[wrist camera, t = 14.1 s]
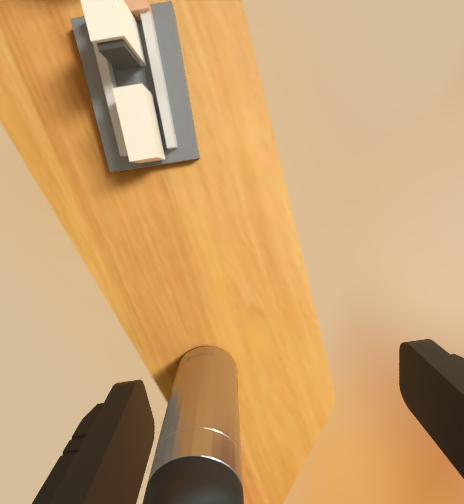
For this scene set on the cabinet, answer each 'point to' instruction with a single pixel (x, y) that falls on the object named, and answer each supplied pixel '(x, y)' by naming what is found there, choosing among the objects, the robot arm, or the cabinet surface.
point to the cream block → (139, 123)
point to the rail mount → (136, 73)
